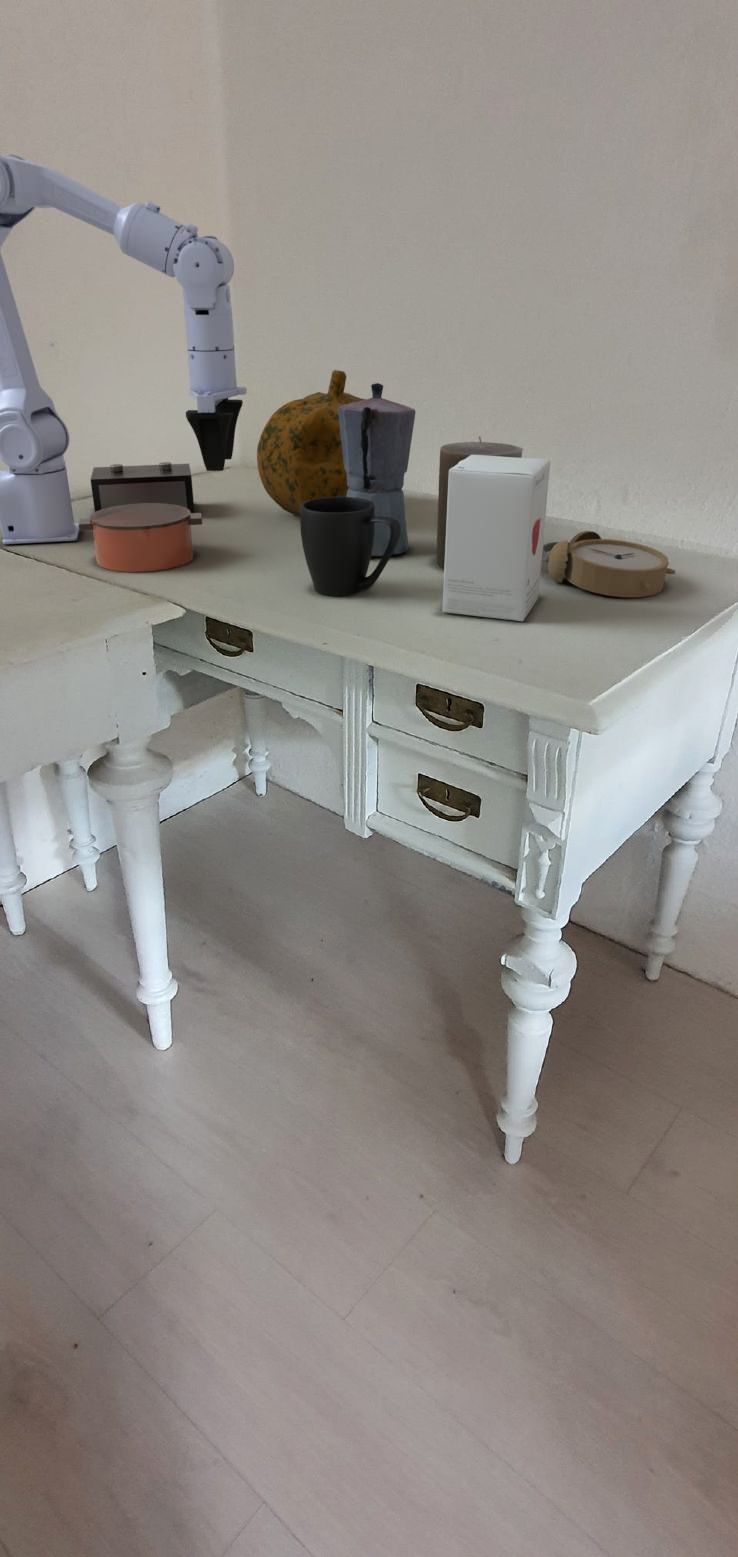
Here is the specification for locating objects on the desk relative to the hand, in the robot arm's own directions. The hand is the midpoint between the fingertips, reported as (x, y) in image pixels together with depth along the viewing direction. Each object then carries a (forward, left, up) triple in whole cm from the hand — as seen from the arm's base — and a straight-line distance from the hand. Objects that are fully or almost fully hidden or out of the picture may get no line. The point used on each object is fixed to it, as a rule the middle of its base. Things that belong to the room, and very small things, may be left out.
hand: (219, 464), depth 124 cm
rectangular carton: (+27, -33, -10) cm, 44 cm away
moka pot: (+19, -9, -10) cm, 23 cm away
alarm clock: (+42, -27, -10) cm, 51 cm away
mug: (+13, -25, -10) cm, 30 cm away
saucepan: (-10, -6, -10) cm, 16 cm away
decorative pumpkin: (+17, +13, -10) cm, 23 cm away
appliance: (-10, +19, -10) cm, 24 cm away
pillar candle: (+30, -17, -10) cm, 36 cm away
